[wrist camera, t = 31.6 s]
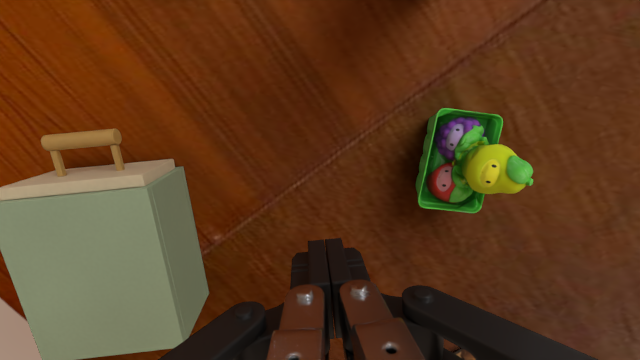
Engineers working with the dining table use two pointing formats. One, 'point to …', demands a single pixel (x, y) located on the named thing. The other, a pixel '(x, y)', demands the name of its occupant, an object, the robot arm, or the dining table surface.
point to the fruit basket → (466, 162)
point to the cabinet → (106, 268)
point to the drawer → (86, 169)
